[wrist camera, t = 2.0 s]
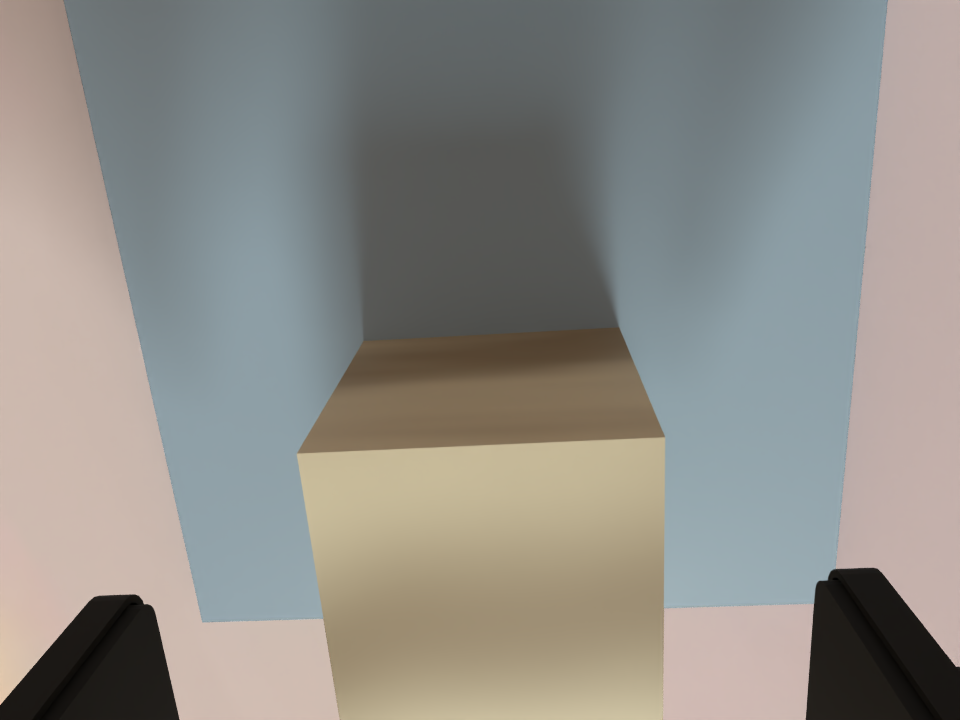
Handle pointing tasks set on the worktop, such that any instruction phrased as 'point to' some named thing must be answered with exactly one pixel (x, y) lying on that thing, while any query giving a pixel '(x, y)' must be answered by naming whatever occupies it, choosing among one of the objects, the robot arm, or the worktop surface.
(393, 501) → the maple block
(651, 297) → the board
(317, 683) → the worktop surface
